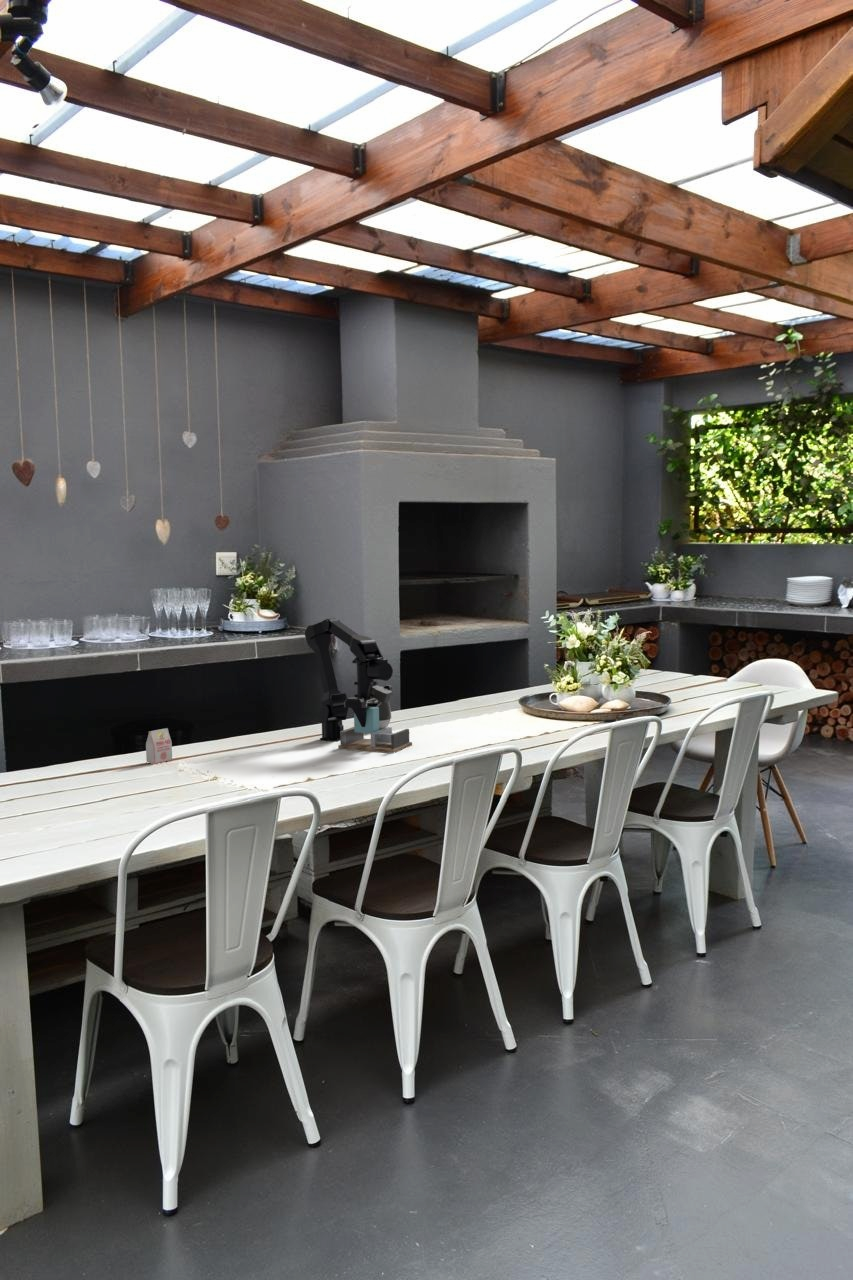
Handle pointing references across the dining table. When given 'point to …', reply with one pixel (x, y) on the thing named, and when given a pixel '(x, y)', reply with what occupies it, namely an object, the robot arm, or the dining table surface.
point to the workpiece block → (368, 721)
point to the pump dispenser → (384, 714)
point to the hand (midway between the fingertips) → (366, 725)
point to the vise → (363, 742)
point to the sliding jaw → (389, 737)
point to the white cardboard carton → (158, 746)
